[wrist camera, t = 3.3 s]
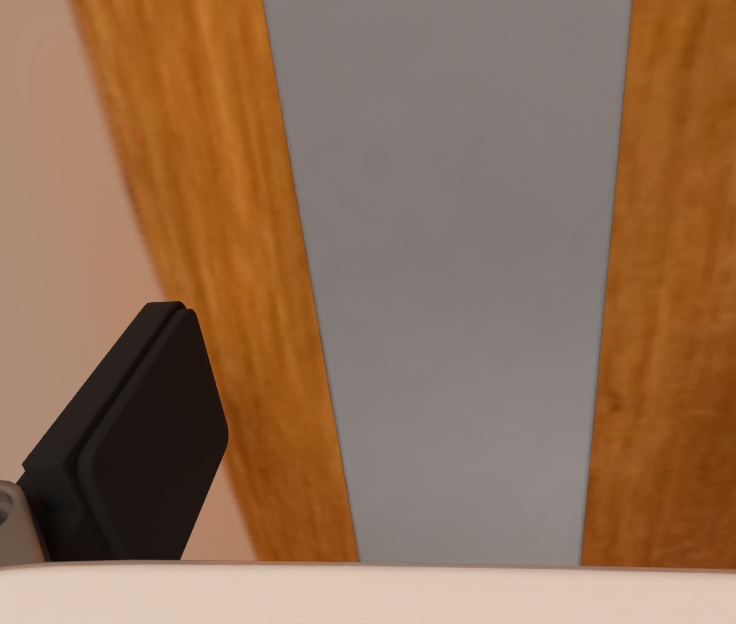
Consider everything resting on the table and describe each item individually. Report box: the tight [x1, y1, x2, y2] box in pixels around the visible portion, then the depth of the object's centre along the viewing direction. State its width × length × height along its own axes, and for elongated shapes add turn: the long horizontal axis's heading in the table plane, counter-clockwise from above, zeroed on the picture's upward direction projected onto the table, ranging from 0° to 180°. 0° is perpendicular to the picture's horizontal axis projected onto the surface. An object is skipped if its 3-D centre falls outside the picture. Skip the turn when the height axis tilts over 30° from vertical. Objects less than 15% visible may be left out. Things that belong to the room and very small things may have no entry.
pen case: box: [262, 0, 633, 566], centre depth 11 cm, size 14×4×4 cm, turn 6°
